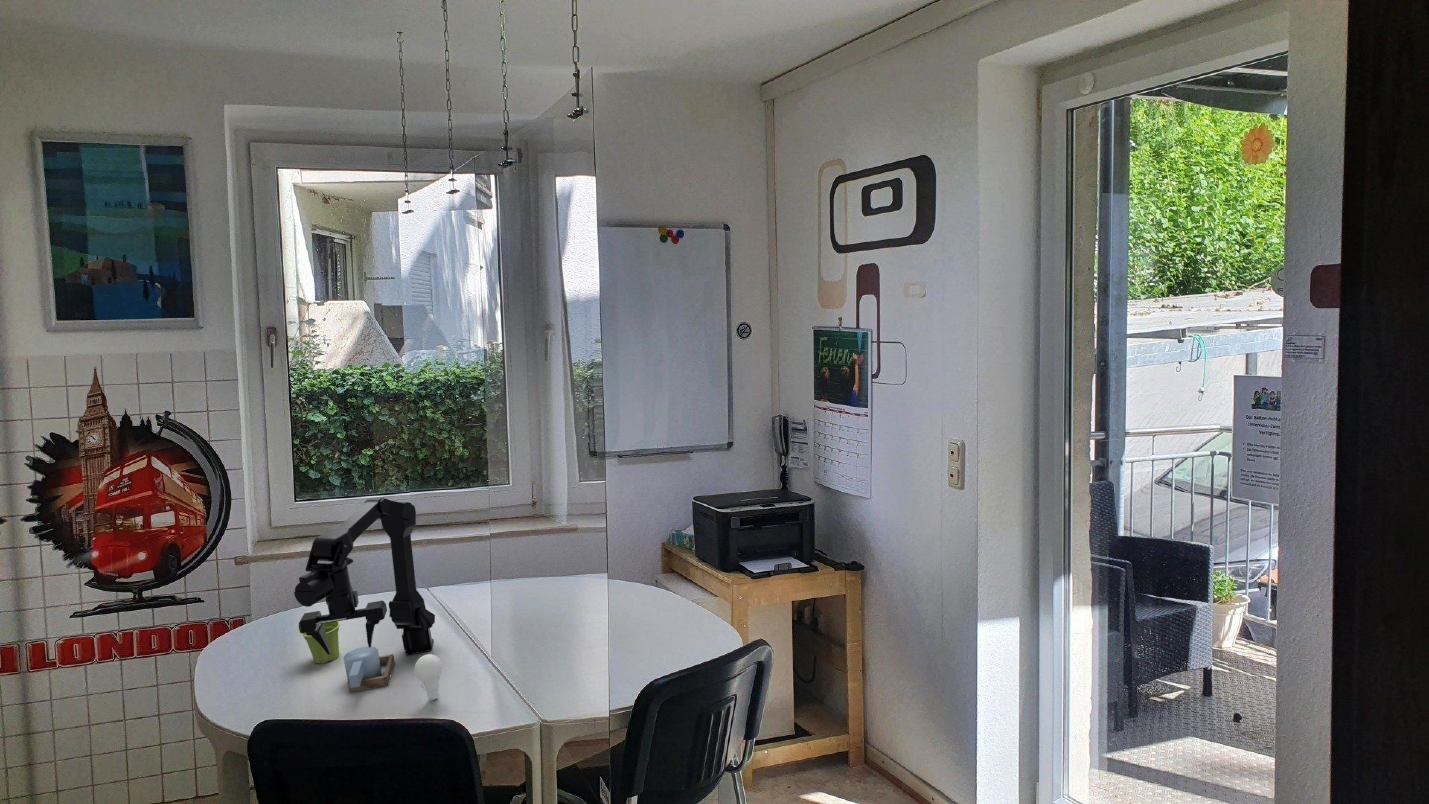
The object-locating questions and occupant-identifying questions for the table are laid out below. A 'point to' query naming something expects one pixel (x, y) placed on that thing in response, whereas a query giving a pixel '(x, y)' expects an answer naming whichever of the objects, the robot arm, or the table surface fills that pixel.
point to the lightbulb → (429, 674)
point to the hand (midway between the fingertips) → (349, 650)
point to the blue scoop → (362, 665)
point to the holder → (380, 680)
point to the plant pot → (332, 637)
